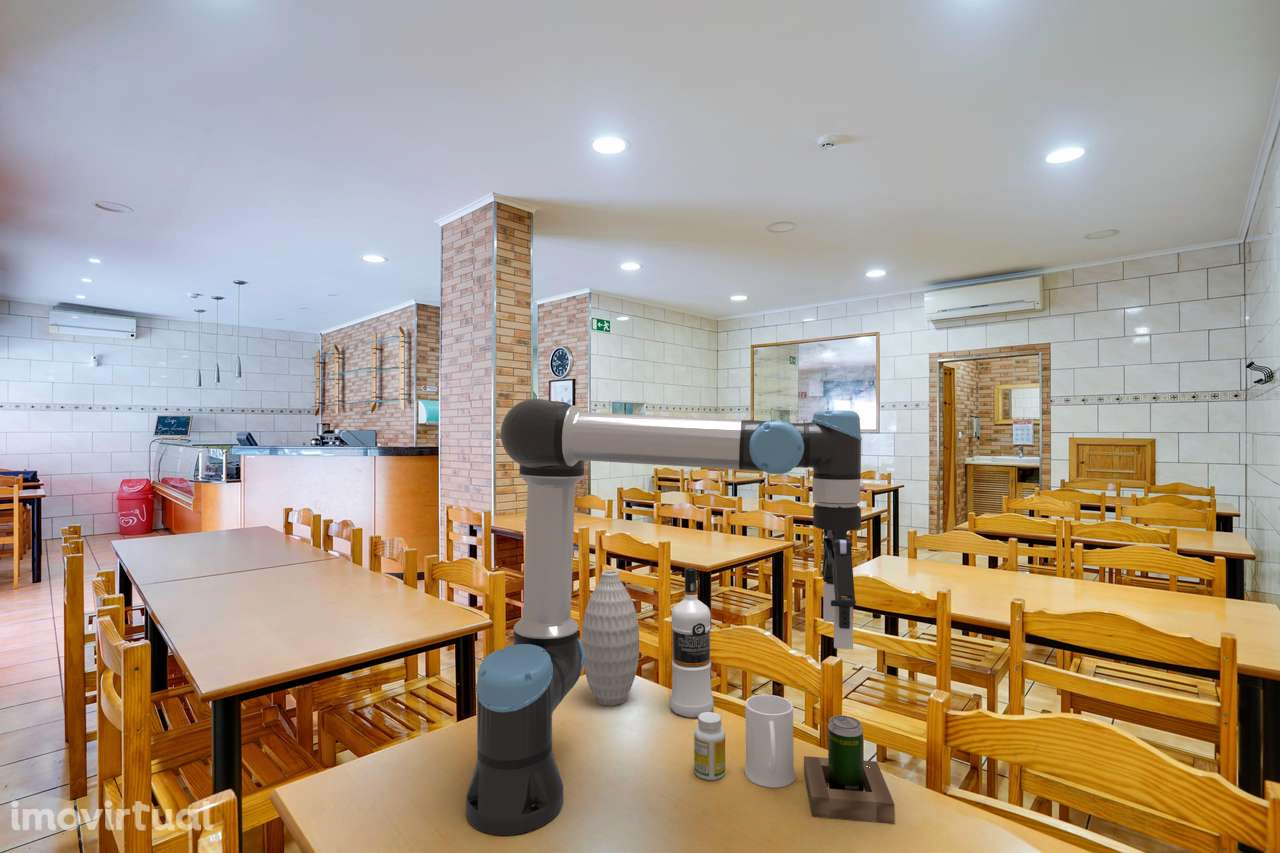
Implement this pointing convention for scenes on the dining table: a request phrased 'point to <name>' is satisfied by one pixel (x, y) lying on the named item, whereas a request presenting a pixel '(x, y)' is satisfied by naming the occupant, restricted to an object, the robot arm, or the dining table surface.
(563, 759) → the dining table surface
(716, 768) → the supplement bottle
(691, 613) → the vodka
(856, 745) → the beer can
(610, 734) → the dining table surface
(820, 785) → the holder
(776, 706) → the mug
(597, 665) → the vase
